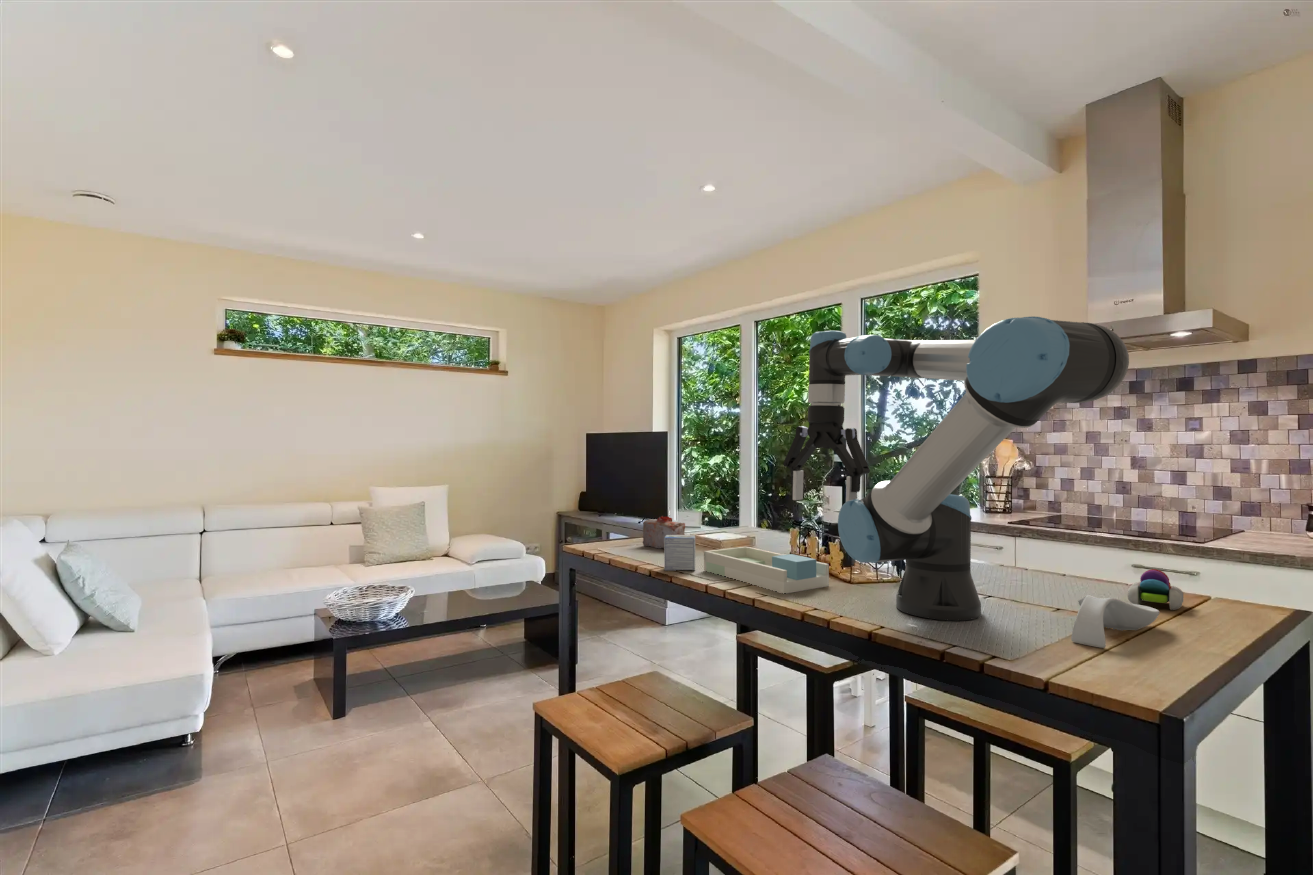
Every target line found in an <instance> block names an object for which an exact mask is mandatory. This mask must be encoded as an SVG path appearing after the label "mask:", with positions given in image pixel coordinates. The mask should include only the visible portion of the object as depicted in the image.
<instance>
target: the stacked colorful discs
mask: <svg viewBox="0 0 1313 875" xmlns="http://www.w3.org/2000/svg"><path fill="white" fill-rule="evenodd" d="M1139 579H1140V581H1138V582H1134V583H1132V584H1131V585H1130V587H1129V588H1128V589H1127V599H1128V602H1130V603H1131V604H1137V605H1141V602H1142V601H1145V602H1151V603H1159V604H1161V603H1162V604H1167V603H1169V604H1168V605H1169V609H1170V611H1176V610H1179V609H1180V608H1181V607H1182V606H1183V603H1184V591H1182V589H1180V588H1179V587H1178V586H1175V585H1171V583H1170V578H1169V577H1168V575H1167V574H1166V573H1165V572H1164V571H1162V570H1159V569H1155V568H1152V569H1148V570H1145V571H1144V572H1143V573H1142V574H1141V576H1140V578H1139Z"/></svg>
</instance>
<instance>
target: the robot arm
mask: <svg viewBox="0 0 1313 875" xmlns="http://www.w3.org/2000/svg"><path fill="white" fill-rule="evenodd" d="M809 342H810V344H809V345H810V346H809V351H808V355H809V356H808V357H809V358H808V359H809V361H808V365H809V366H808V369H809V370H808V393H807V394H808V395H807V396H808V398H807V400H808V402H807V403H809V404H810V405H809V406H808V408H807V422H808V427H807V426H805V425H804V426H803V425H801V426H800V425H799V426H796V429H795V436H794V438H793V440H792V442H791V445H790V447H789V450H788V451H787V454H786V456H785V459H784V461H783V465H782V466H783V467H785V468H788V469H790V484H791V485H792V500H793V501H800V500H804V471H805V470H804V469H802V467H803V466H804V465H805V463H806V462H807V461H808V459H809V458H810V457H811V456H812V454H813V453H814V452H815V450H816V449H826V450H827V449H831V450H832V451H834V452H835V454H836V455H837V457H838V458H839V459H840V460H839V461H841V463H842V464H843V466H844V467H845V469H846V470H847V472H848V473H849V474H848V476H846V484H845V485H846V486H845V487H846V489H845V491H846V492H845V503H843V504H842V506H841V507H840V509H839V511H838V517H837V529H838V535H839V539H840V542H841V544H842V546H843V547H842V548H844V551H845V552H846V554H847V555H848V556H850V557H851V559H853V560H854V561H857V562H859V563H869V564H870V563H871V564H877V563H885V562H894V561H895V562H896V561H905V570H904V572H903V575H902V577H901V581H900V584H899V586H898V589H897V593H896V597H895V598H896V599H895V600H896V602H895V603H896V605H895V607H896V609H898V610H899V611H900V612H902V613H905V614H907V615H912V616H915V617H920V618H925V619H930V620H939V621H969V620H976V619H978V618H979V617H981V616H982V603H981V599H980V597H979V595H978V594H979V593H978V591H977V588H976V584H975V582H974V580H973V577H972V573H971V570H972V569H971V558H972V557H971V556H972V554H971V553H972V552H971V549H972V548H971V546H972V543H971V542H972V540H971V538H972V537H971V536H972V530H971V529H972V515H971V506H970V504H971V503H970V502H969V501H970V500H968V498H967V497H965V496H963V495H958V494H951V493H952V492H954V491H955V489H957V487H958V486H959V485H961V483H962V482H963V481H964V480H965V479H967V477H968V476H969V475H970V474H971V473H973V471H974V470H975V469H976V468H977V467H978V466H979V465H980V464H981V463H982V462H983V461H984V460H985V459H986V458H987V457H988V456H989V455H990V454H991V453H993V451H994V450H995V449H996V448H997V447H998V446H999V445H1000V444H1001V443H1002V442H1003V441H1004V440H1005V439H1006V438H1007V437H1008V436H1010V433H1012V432H1013V431H1014V430H1015V429H1016V428H1019V429H1020V428H1022V429H1024V428H1031V427H1032V426H1034V425H1035V424H1036V423H1037V422H1038V421H1039V420H1041V419H1042V418H1043V417H1044V415H1046V413H1048V412H1049V411H1050V410H1051V409H1052V408H1053V407H1054V406H1055V405H1057V404H1060V403H1061V404H1082V403H1083V404H1085V403H1089V402H1094V401H1097V400H1099V399H1102V398H1104V397H1106V396H1107V395H1109V394H1111V393H1113V391H1115V390H1116V389H1117V388H1118V387H1119V386H1120V385H1121V383H1122V382H1123V381H1124V379H1125V378H1126V376H1127V373H1128V370H1129V366H1130V355H1129V351H1128V348H1127V346H1126V344H1125V342H1124V340H1123V339H1122V338H1121V337H1120V336H1119V335H1118V334H1117V333H1115V331H1114V330H1111V329H1110V328H1108V327H1105V326H1103V325H1100V324H1097V323H1093V322H1084V321H1083V322H1081V321H1079V322H1078V321H1066V320H1058V319H1057V320H1056V319H1049V318H1045V317H1042V316H1032V315H1031V316H1023V317H1010V318H1004V319H1003V320H999V321H997V322H995V323H993V324H992V325H990V326H988V327H986V329H985V330H984V331H982V332H981V333H980V334H979V335H978V337H977V338H976V339H944V340H943V339H938V340H937V339H935V340H929V339H928V340H925V339H913V340H912V339H895V338H884V337H882V336H881V335H878V334H860V335H859V336H854V337H850V338H849V337H848V338H847V333H845V332H844V331H842V330H841V331H840V330H824V331H815V332H814V333H812V335H811V337H810V341H809ZM846 376H876V377H877V376H878V377H899V378H912V379H933V380H934V379H935V380H947V381H959V382H960V381H963V384H964V385H963V386H964V389H965V393H964V394H963V395H962V396H961V398H960V399H959V400H958V402H956V403H955V405H954V406H953V408H951V410H950V411H949V412H948V413H947V414H946V416H944V418H943V419H942V420H941V421H940V423H939V424H938V425H937V426H936V427H935V429H933V431H932V432H931V433H930V434H929V436H927V438H926V439H925V440H923V442H922V444H920V446H919V447H918V448H917V449H916V451H915V452H914V453H913V454H912V455H911V457H909V459H907V461H906V463H905V464H904V465H903V466H902V467H901V468H900V470H898V472H897V473H896V474H895V475H894V476H893V478H892V479H890V480H883V481H879V482H878V483H877V484H875V485H874V486H873V488H871V490H870V491H869V492H868V493H867V495H866V496H864V498H862V499H858V496H857V493H859V492H860V491H861V478H862V476H864V475H868V474H870V472H871V470H870V467H869V465H868V462H867V458H866V457H865V454H864V452H863V449H862V447H861V444H860V442H859V440H858V431H857V428H854V427H853V428H852V427H849V428H848V427H847V428H845V429H844V427H843V425H844V422H845V407H844V405H842V404H844V403H845V401H846V400H845V396H846V394H845V393H846ZM807 437H809V438H808V440H807V441H806V439H807ZM842 438H844V439H845V441H846V444H847V445H846V444H845V443H844V441H843V440H842ZM805 442H806V443H805ZM846 446H847V447H848V449H849V451H848V449H847V448H846Z"/></svg>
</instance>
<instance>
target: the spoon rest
mask: <svg viewBox="0 0 1313 875" xmlns="http://www.w3.org/2000/svg"><path fill="white" fill-rule="evenodd" d="M1077 602H1078V605H1079V606H1080V607H1079V609H1078V610H1077V611H1078V612H1077V614H1076V618H1075V620H1074V623H1073V626H1072V631H1071V632H1072V633H1071V642H1073V643H1075V644H1079V645H1085V646H1089V647H1095V648H1098V649H1099V648H1100V649H1105V648H1106V646H1107V645H1106V644H1107V643H1106V635H1105V627H1107V628H1106V629H1109V628H1113V629H1112V630H1115V629H1117V631H1123V630H1135V631H1138V630H1140V629H1143V628H1146V627H1147V626H1149V625H1151V624H1152V623H1154V622H1155V621H1156V619H1157V618H1158V617H1159V615H1160V611H1159V609H1156V608H1153V607H1151V606H1148V605H1141V604H1140V605H1137V604H1133V603H1131V602H1130V603H1129V602H1126V601H1123V600H1121V599H1117V598H1114V597H1106V598H1105V597H1104V598H1100V597H1096V596H1093V595H1090V594H1086V595H1084V596H1083V597H1081V598H1079V599H1078V600H1077Z"/></svg>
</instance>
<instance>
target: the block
mask: <svg viewBox="0 0 1313 875" xmlns="http://www.w3.org/2000/svg"><path fill="white" fill-rule="evenodd" d="M816 562H817V559H816V558H812V557H807V556H802V555H797V554H794V553H793V554H792V553H790V554H789V553H788V554H784V555H780V556H772V567H775V568H779V569H783V570H787V578H790V579H794V580H802V579H808V578H814V577H816Z"/></svg>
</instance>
